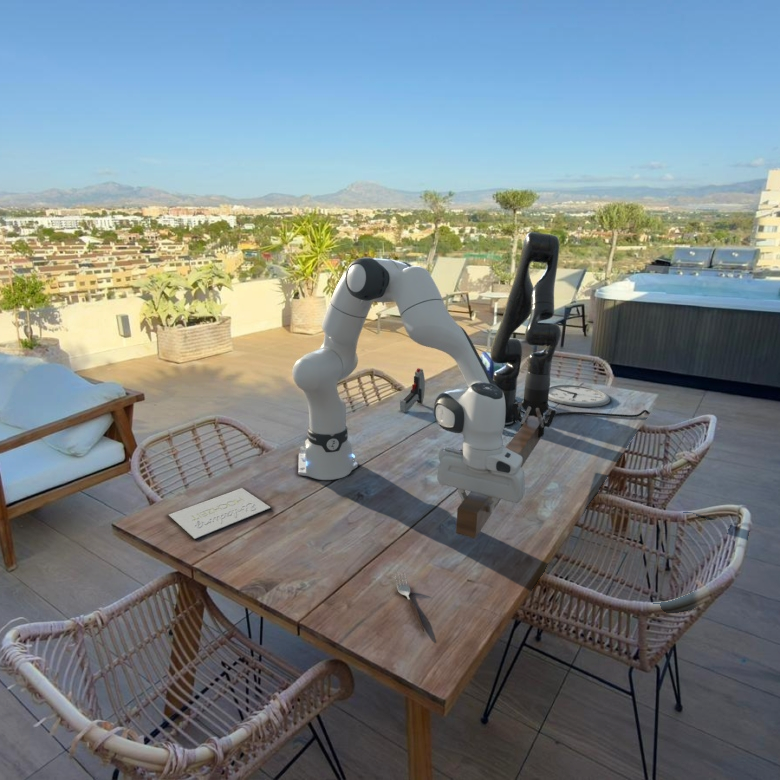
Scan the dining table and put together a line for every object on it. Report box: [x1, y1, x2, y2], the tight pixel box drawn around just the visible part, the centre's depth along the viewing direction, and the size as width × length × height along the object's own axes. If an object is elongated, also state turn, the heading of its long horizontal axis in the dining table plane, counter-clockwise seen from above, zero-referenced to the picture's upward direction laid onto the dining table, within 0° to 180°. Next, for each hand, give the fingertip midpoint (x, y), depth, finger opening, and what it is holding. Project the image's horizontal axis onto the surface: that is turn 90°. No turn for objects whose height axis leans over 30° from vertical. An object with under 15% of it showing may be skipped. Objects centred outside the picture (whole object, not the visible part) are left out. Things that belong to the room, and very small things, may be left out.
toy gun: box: [399, 367, 426, 413], centre depth 218 cm, size 2×16×15 cm
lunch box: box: [480, 351, 506, 380], centre depth 230 cm, size 26×11×21 cm, turn 179°
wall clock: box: [548, 384, 611, 408], centre depth 239 cm, size 30×2×30 cm
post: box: [455, 415, 546, 540], centre depth 146 cm, size 72×5×6 cm, turn 152°
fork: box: [394, 572, 425, 632], centre depth 105 cm, size 3×16×2 cm, turn 15°
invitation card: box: [168, 487, 271, 540], centre depth 138 cm, size 21×1×15 cm
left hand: (477, 508), depth 123 cm, fingers closed on post, 4 cm apart
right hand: (531, 435), depth 170 cm, fingers closed on post, 4 cm apart
